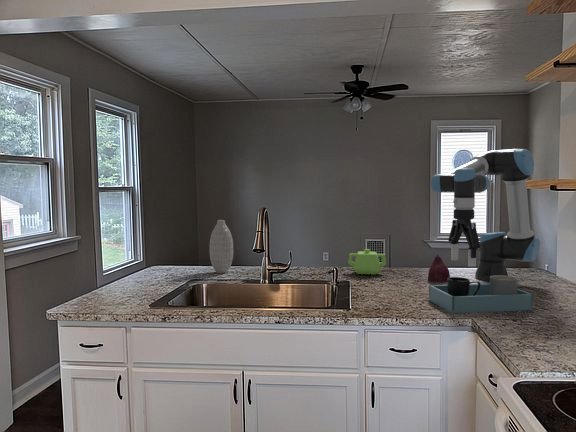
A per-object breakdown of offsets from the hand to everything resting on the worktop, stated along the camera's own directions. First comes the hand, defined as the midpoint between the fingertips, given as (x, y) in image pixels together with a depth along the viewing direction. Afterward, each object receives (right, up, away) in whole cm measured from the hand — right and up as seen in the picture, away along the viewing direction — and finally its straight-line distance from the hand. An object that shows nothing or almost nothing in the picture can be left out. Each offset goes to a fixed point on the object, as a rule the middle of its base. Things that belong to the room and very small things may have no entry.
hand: (463, 263), depth 184 cm
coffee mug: (+16, -16, +2) cm, 22 cm away
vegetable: (+6, -14, +48) cm, 50 cm away
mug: (0, -16, 0) cm, 16 cm away
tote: (+7, -17, +2) cm, 18 cm away
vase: (-104, -12, +71) cm, 127 cm away
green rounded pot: (-26, -12, +69) cm, 75 cm away
